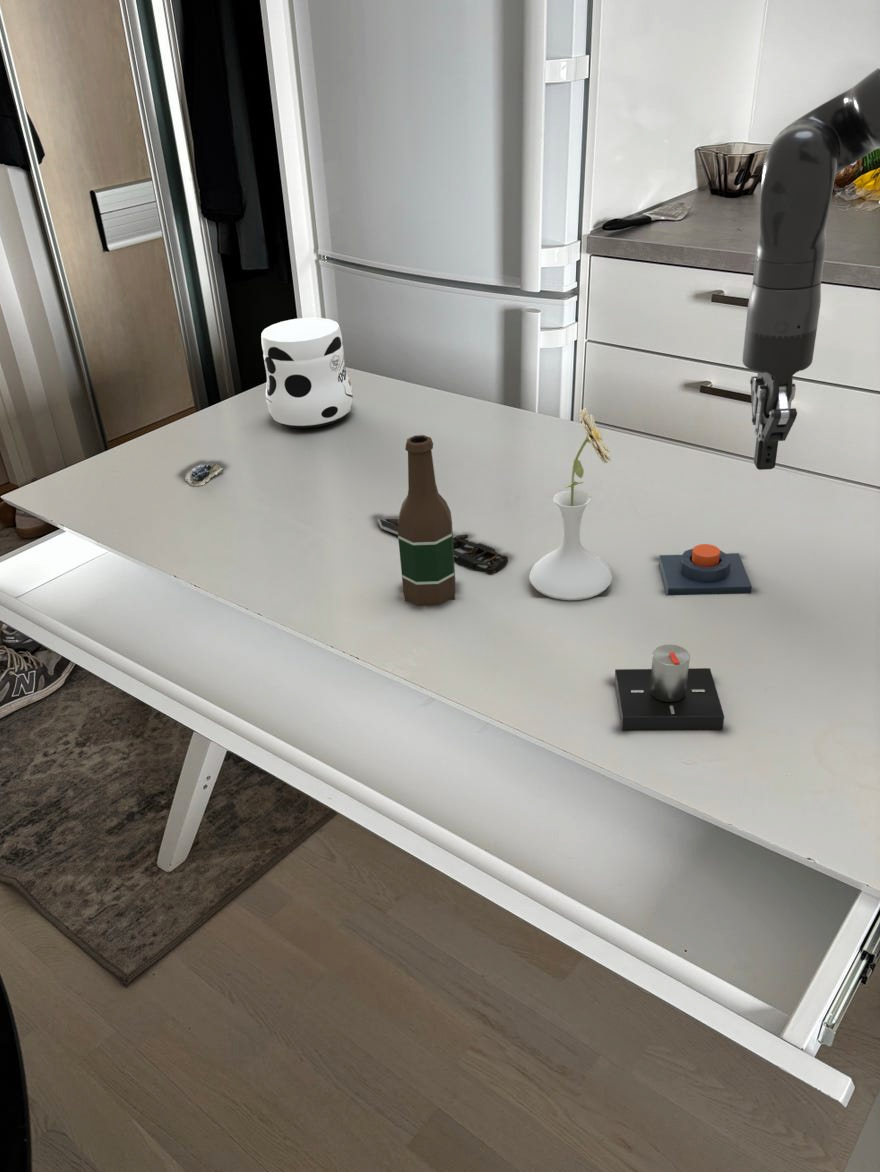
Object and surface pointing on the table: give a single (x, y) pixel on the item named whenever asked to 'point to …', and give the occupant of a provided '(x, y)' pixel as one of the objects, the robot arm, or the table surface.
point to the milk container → (306, 373)
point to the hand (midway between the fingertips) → (764, 466)
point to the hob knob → (669, 673)
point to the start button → (706, 555)
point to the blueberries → (202, 474)
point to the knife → (460, 542)
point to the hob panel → (667, 703)
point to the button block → (703, 575)
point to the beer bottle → (425, 532)
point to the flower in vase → (574, 538)
